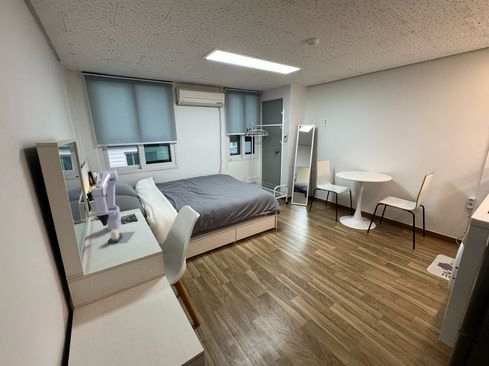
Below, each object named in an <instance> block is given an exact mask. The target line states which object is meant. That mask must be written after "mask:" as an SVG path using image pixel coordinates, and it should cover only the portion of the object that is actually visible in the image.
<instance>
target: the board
mask: <svg viewBox="0 0 489 366" xmlns="http://www.w3.org/2000/svg"><path fill="white" fill-rule="evenodd" d="M135 233H136V231H127V232H119V235H122V236H123V238H122V239H121V240H120V241H119V243H111V244H108V243H107V244H106V245H119V244H128V242H129V241H130V240H131V239H132V237H133V236H134V234H135Z"/></svg>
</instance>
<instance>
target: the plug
mask: <svg viewBox="0 0 489 366" xmlns="http://www.w3.org/2000/svg"><path fill="white" fill-rule="evenodd" d="M119 233H120V232H119V229H113V230H112V231H110V238H111V239H112V240H117V239H118V238H119V237H120V236H119Z"/></svg>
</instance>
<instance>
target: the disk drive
mask: <svg viewBox="0 0 489 366" xmlns="http://www.w3.org/2000/svg"><path fill="white" fill-rule="evenodd" d="M120 219H121V223H122V225H126V224H130V223H134V222H135V223H137V222H139V220H138V217H137V216H136V213H130V214H127V215H126V214H125V215H122V216H120Z"/></svg>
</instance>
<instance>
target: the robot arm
mask: <svg viewBox="0 0 489 366" xmlns="http://www.w3.org/2000/svg"><path fill="white" fill-rule="evenodd" d="M99 176H100V178H101V179H100V180H99V181H97V183H96V185H95V187H93V188H92V189H91V196H92V198H93V200H94V203H95V207H96V211H95V212H94V211H93V212H92V211H91V212H90V213H89V216H90V217H95V216H97V220H99V221H100V222H101V224H102V226H103V227H107V229H108V231H110V232H111V231H112V230H113V229H118V230H119V229H120V228H121V226H122V225H123V223H122V220H121V211H120V209H121V208H120V207H119V206H118V205H116V183H118V180H119V174H118V171H117V170H116V169H114V170H113V169H111V170H100V172H99ZM106 194H107V198H106Z"/></svg>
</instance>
